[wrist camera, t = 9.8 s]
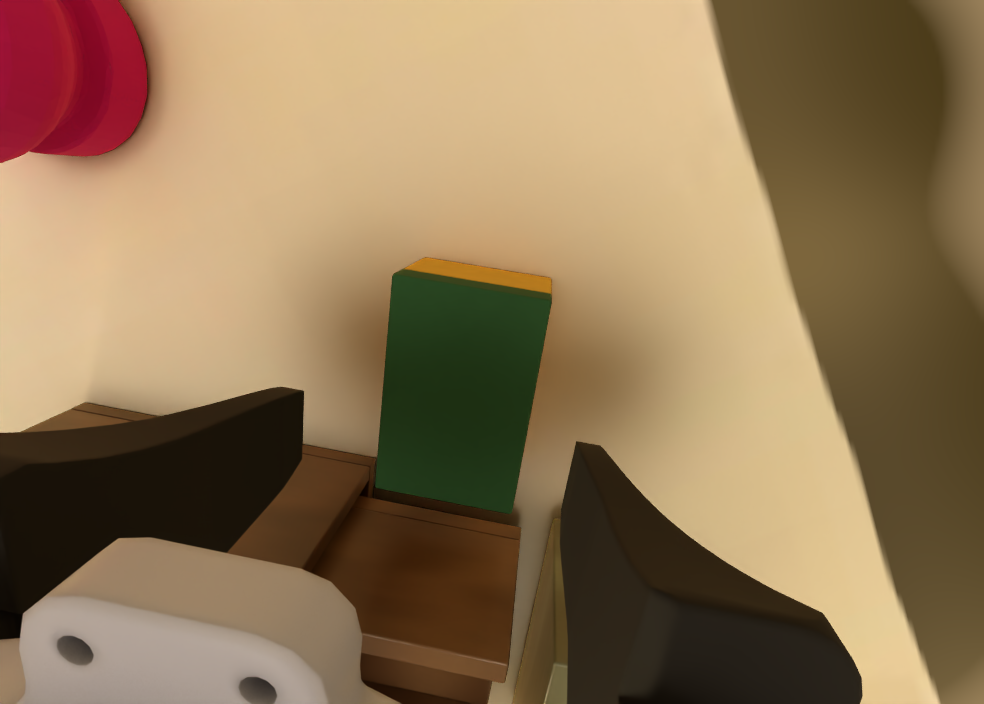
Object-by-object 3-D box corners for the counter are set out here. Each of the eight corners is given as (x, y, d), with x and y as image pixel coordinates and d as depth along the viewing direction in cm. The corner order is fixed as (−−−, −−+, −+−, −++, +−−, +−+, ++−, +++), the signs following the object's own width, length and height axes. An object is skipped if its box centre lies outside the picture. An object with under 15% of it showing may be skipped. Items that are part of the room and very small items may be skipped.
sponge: (551, 277, 18) (552, 300, 15) (518, 456, 21) (511, 515, 17) (424, 256, 19) (391, 273, 15) (405, 435, 21) (373, 488, 17)
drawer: (700, 545, 20) (768, 708, 14) (634, 739, 24) (665, 939, 17) (289, 465, 21) (177, 583, 15) (285, 662, 25) (194, 824, 18)
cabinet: (375, 457, 22) (273, 613, 14) (358, 670, 26) (271, 887, 18) (84, 402, 22) (-173, 518, 14) (111, 616, 26) (-79, 800, 18)
